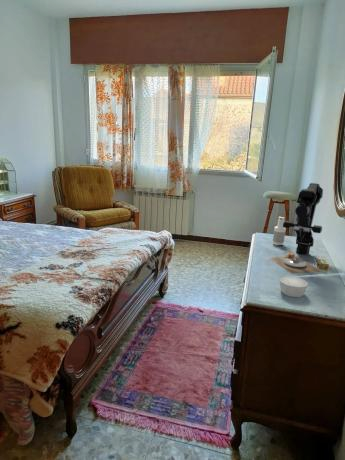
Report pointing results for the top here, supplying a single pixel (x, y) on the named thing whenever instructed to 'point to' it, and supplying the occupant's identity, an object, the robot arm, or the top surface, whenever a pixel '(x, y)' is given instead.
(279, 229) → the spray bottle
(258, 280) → the top surface
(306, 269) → the base board
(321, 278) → the top surface
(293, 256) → the flange plate
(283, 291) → the ramekin
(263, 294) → the top surface
